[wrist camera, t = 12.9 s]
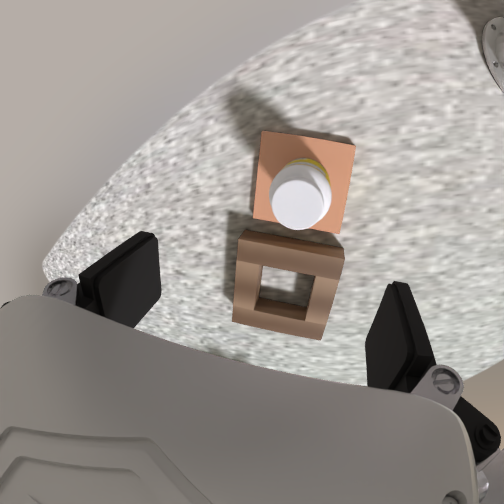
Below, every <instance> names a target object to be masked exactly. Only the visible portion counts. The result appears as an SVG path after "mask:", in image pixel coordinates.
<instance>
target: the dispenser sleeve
mask: <svg viewBox="0 0 504 504" xmlns="http://www.w3.org/2000/svg"><path fill="white" fill-rule="evenodd" d="M344 260H345V257H344V248H340V247H335V246H330V245H324V244H319V243H314V242H309V241H304V240H298V239H293V238H288V237H282V236H277V235H271V234H266V233H261V232H255V231H249V230H245V231H244V232H243V233H242V235H241V236H240V237H239V239H238V248H237V261H236V274H235V287H234V301H233V314H232V322H236V323H240V324H244V325H248V326H253V327H257V328H262V329H266V330H271V331H275V332H280V333H285V334H290V335H295V336H300V337H305V338H310V339H316V340H321V339H322V335H323V332H324V329H325V326H326V323H327V320H328V317H329V313H330V310H331V307H332V304H333V300H334V297H335V293H336V290H337V286H338V283H339V279H340V275H341V272H342V268H343V264H344ZM263 266H268V267H273V268H278V269H283V270H288V271H293V272H298V273H303V274H309V275H314V280H313V284H312V289H311V293H310V297H309V301H308V305H307V307H303V306H298V305H293V304H288V303H283V302H278V301H273V300H268V299H264V298H259V292H260V285H261V277H262V269H263Z"/></svg>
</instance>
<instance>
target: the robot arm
mask: <svg viewBox="0 0 504 504" xmlns="http://www.w3.org/2000/svg"><path fill="white" fill-rule="evenodd" d="M482 45H483V50H484V55H485V58H486V61H487V64H488V66H489V69H490V71H491V73H492V75H493V77H494V79H495V80H496V82H497V84H498V85H499V86H500V88H501V89H502V91H503V92H504V17H497V18H493V19H492V20H490V21H488V23H487V24H486V25H485V27H484V30H483V35H482ZM79 279H80V283H78V284H77V282H76V281H75V280H74V279H72V278H67V277H66V278H58V279H55V280H53V281H51V282H50V283H48V284H47V285H46V286H45V288H44V291H43V294H42V296H40V295H26V296H21V297H18V298H16V299H14V300H12V301H10V302H7V303H5V304H4V305H3V306H2V307H1V308H0V504H504V449H502V450H500V449H499V446H500V443H501V436H500V432H499V430H498V428H497V426H496V425H495V424H494V423H493V422H492V421H490V420H489V419H488V418H487V417H485V416H484V415H483V414H482V413H481V412H480V411H478V410H477V409H476V408H475V407H473V406H472V405H471V404H470V403H468V402H467V401H466V400H465V399H464V398H462V397H461V394H462V392H463V388H464V385H463V381H462V378H461V377H460V375H459V374H458V373H457V372H456V371H455V370H454V369H452V368H450V367H449V366H445V365H436V361H435V358H434V354H433V351H432V348H431V345H430V342H429V338H428V335H427V332H426V329H425V327H424V324H423V322H422V319H421V316H420V313H419V311H418V308H417V305H416V303H415V300H414V297H413V295H412V292H411V290H410V287H409V285H408V284H407V283H402V282H397V281H394V282H393V283H392V284H388V285H387V288H386V290H385V293H384V296H383V298H382V301H381V303H380V306H379V309H378V311H377V314H376V316H375V318H374V321H373V323H372V326H371V328H370V330H369V333H368V335H367V338H366V342H365V351H366V366H367V385H368V387H367V386H361V385H354V384H347V383H341V382H334V381H328V380H322V379H317V378H311V377H306V376H301V375H296V374H291V373H286V372H282V371H277V370H273V369H268V368H264V367H259V366H255V365H251V364H247V363H243V362H239V361H235V360H231V359H228V358H224V357H220V356H217V355H213V354H209V353H206V352H203V351H199V350H196V349H193V348H189V347H186V346H183V345H180V344H177V343H174V342H171V341H168V340H165V339H162V338H159V337H156V336H153V335H150V334H147V333H145V332H142V331H139V330H136V329H134V327H135V326H136V325H137V324H138V323H139V321H140V320H141V319H142V318H143V317H144V316H145V315H146V313H147V312H148V311H149V310H150V309H151V308H152V307H153V305H154V304H155V303H156V302H157V301H158V300H159V298H160V296H161V279H160V266H159V251H158V239H157V238H156V237H155V235H154V234H153V233H149V232H144V231H140V232H138V233H137V234H135V235H134V236H132V237H131V238H129V239H128V240H126V241H125V242H123V243H122V244H121V245H119V246H118V247H116V248H115V249H113V250H112V251H111V252H109V253H108V254H106V255H105V256H103V257H102V258H101V259H99V260H98V261H97V262H95V263H94V264H92V265H91V266H90V267H88V268H87V269H86V270H84V271H83V272H82V273H80V274H79Z"/></svg>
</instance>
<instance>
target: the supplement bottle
mask: <svg viewBox="0 0 504 504" xmlns="http://www.w3.org/2000/svg"><path fill="white" fill-rule="evenodd" d="M331 199H332V192H331V185H330V178H329V175H328V173H327V171H326V169H325V168H324V167H323V166H322V165H321V164H320V163H319V162H317V161H316V160H313V159H310V158H297V159H294V160H292V161H290V162H289V163H288V164H287V165H285V166H284V168H283V169H282V170H281V171H280V172H279V173H278V174H277V175H276V176H275V178H274V179H273V181H272V183H271V186H270V190H269V201H270V205H271V207H272V211H273V213H274V216H275V217H276V219H277V220H278V221H279V222H280V223H281V224H282V225H284V226H285V227H287V228H290V229H293V230H303V229H307V228H309V227H311V226H313V225H314V224H315V223H317V222H318V221H320V220H321V219H322V218H323V217H324V216H325V215H326V213H327V212H328V210H329V207H330V204H331Z"/></svg>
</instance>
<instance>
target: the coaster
mask: <svg viewBox="0 0 504 504" xmlns="http://www.w3.org/2000/svg"><path fill="white" fill-rule="evenodd" d="M355 148H356V146H355V145H350V144H345V143H340V142H335V141H330V140H324V139H318V138H312V137H306V136H300V135H293V134H286V133H278V132H270V131H262V133H261V143H260V153H259V162H258V172H257V182H256V192H255V202H254V211H253V218H255V219H261V220H266V221H272V222H278V223H280V222H279V221H278V220H277V219H276V217H275V216H274V213H273V211H272V207H271V205H270V201H269V190H270V186H271V183H272V181H273V179H274V178H275V176H276V175H277V174H278V173H279V172H280V171H281V170H282V169H283V168H284V166H285V165H287V164H288V163H289V162H290V161H292V160H294V159H297V158H310V159H313V160H316V161H317V162H319V163H320V164H321V165H322V166H323V167H324V168H325V169H326V171H327V173H328V175H329V178H330V185H331V192H332V199H331V204H330V207H329V210H328V212H327V213H326V215H325V216H324V217H323V218H322V219H321V220H320V221H318V222H317V223H315V224H314V225H313V226H311V227H309V228H310V229H316V230H321V231H326V232H331V233H336V234H339V233H340V228H341V224H342V219H343V214H344V210H345V205H346V200H347V194H348V189H349V184H350V178H351V173H352V167H353V161H354V155H355Z"/></svg>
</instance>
